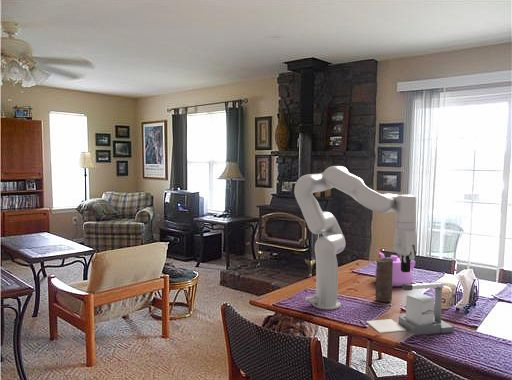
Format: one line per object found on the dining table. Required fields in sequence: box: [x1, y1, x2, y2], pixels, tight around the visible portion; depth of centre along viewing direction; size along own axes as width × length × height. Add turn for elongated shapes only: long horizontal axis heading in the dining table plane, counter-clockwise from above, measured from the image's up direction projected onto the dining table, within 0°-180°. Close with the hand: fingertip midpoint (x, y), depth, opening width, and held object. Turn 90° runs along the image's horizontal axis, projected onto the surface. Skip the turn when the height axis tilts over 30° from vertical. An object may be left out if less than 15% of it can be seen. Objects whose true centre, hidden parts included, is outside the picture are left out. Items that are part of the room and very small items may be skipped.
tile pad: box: [366, 318, 407, 334], centre depth 159 cm, size 11×11×1 cm
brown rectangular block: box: [375, 257, 393, 302], centre depth 188 cm, size 8×7×20 cm
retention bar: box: [401, 281, 444, 291], centre depth 157 cm, size 17×3×2 cm, turn 101°
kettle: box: [374, 252, 416, 288], centre depth 219 cm, size 23×21×15 cm
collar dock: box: [398, 288, 455, 336], centre depth 158 cm, size 16×12×15 cm
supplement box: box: [405, 292, 435, 326], centre depth 158 cm, size 7×7×13 cm
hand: (405, 271), depth 162 cm, fingers closed
